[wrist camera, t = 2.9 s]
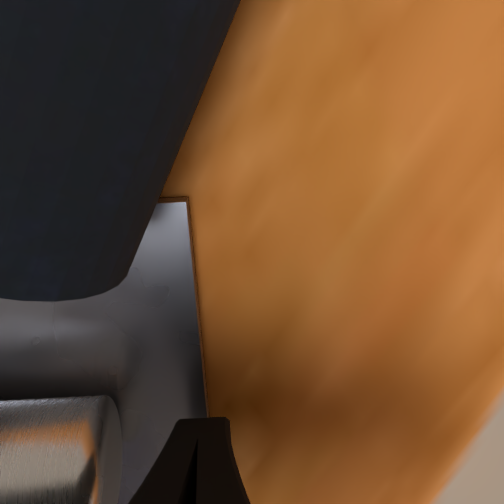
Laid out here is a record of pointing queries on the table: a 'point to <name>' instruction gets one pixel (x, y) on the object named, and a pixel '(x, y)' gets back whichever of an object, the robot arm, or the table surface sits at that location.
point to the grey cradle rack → (120, 344)
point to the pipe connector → (92, 131)
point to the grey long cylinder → (60, 451)
